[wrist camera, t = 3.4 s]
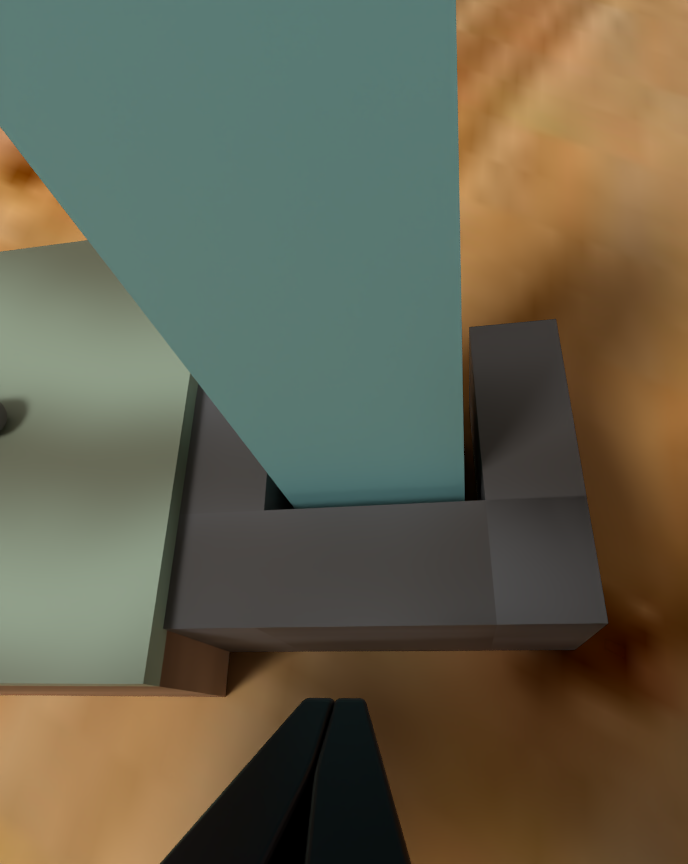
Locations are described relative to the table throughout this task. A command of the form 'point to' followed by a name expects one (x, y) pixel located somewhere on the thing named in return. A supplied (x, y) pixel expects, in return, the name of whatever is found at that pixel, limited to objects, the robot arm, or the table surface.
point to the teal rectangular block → (271, 214)
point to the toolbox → (253, 511)
